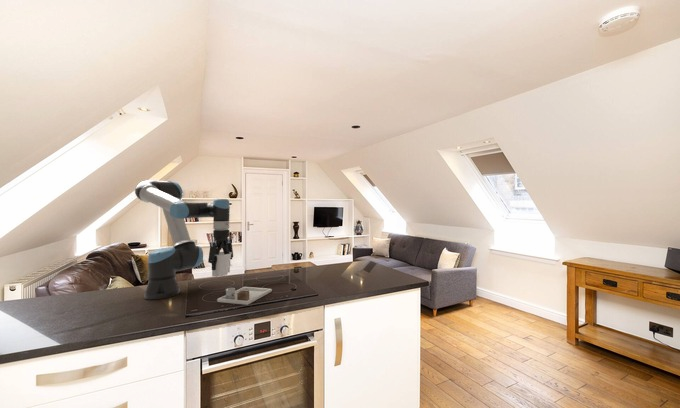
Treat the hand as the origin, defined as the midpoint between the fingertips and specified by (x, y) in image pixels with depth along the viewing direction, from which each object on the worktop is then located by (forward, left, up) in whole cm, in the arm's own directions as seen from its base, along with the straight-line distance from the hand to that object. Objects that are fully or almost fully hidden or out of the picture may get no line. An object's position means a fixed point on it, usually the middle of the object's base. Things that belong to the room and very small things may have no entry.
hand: (221, 274), depth 143 cm
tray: (+17, -3, -10) cm, 20 cm away
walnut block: (+20, -9, -9) cm, 23 cm away
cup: (0, 0, -1) cm, 1 cm away
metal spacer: (+13, -9, -9) cm, 18 cm away
